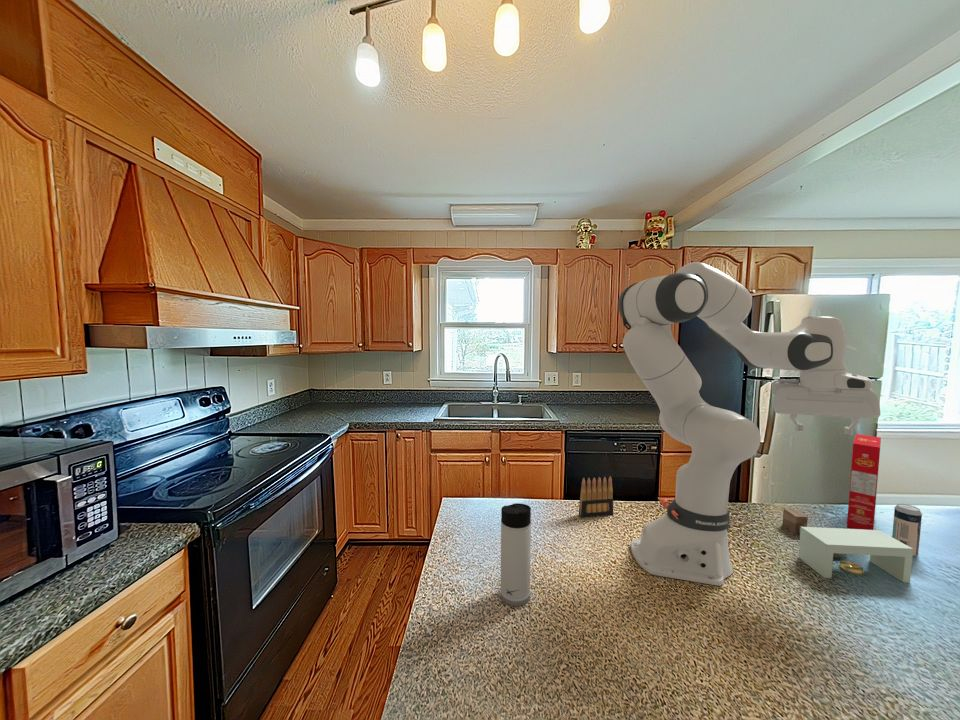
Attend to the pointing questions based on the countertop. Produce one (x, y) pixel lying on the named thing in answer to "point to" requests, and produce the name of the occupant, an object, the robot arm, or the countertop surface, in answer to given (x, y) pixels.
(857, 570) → the brass disc
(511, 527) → the travel mug
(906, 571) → the pale green bridge
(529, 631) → the countertop surface
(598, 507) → the ammunition clip
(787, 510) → the scraper
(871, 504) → the food packaging
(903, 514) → the beer can
